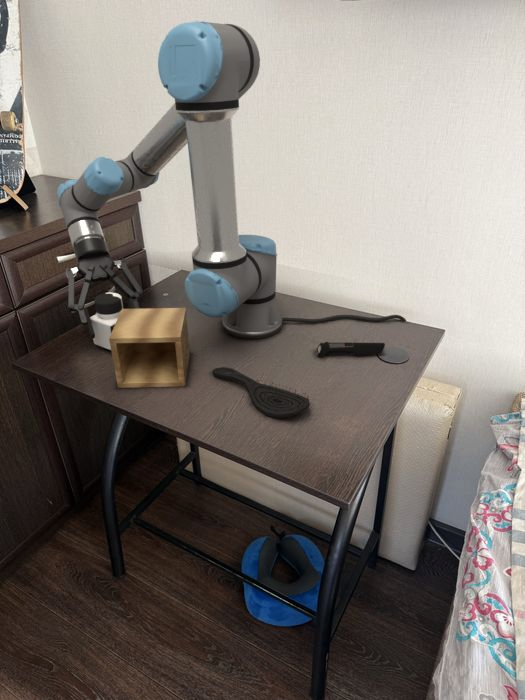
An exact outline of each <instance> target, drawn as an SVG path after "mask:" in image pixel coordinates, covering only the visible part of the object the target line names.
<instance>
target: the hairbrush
mask: <svg viewBox="0 0 525 700" xmlns="http://www.w3.org/2000/svg"><path fill="white" fill-rule="evenodd" d="M212 374H213V375H214V377H217V378H221V379H226V380H230V381H231V380H232V381H235V382H236V383H238V384H241V385H243V386H245V388H246V389H247V392H248V393H249V397H250V401H251V403H252V404H253V405H254V407H255V408H256V409H257V410H258V412H259V413H262V414H264V415H265V416H268V417H272V418H276V419H279V418H291V417H294V416H296V415H300V414H302V413H304V412H305V411H306V410H308V409H309V408H310V405H311V403H310V399H309V397H308V396H304V395H307V394H306V392H305V393H304V392H302V395H301V394H299V393H297V389H295V390H294V388H291V387H288V389H289V390H287V389H283V388H280V387H279V386H281V384H279V383H278V384H277V385H278V386H277V385H275V386H273V382H271V384H266V383H261V382H262V381H263V380H258V379H257V380H255V379H253V378H251V377H249V376H247V375H245V374H244V373H241V372H240V371H239V370H236V369H234V368H232V367H226V366H223V367H215V368H213V369H212ZM259 381H260V382H259ZM283 387H284V388H286V386H285V385H283ZM291 390H294V391H291Z"/></svg>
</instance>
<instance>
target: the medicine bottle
mask: <svg viewBox="0 0 525 700" xmlns="http://www.w3.org/2000/svg"><path fill="white" fill-rule="evenodd" d="M122 297H123V296H122V295H121V294H119V293H117V292H110V291H109V292H103V293H100V294H98V295H96V297H94V299H93V304H94V309H95V314H94V315H92V316H90V319H91V323H92V326H93V329H94V333H95V338H93V339H92V340H93V344H94V345H96V346H98V347H101V348H103V349H106V350H108V351H111V346H110V341H109V338H110V335H111V333H112V331H113V328H114V326H115V324H116V321H117V319H118V317H119V314H120V312H121V310H122V309H124V304H123V298H122Z"/></svg>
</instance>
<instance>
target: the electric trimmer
mask: <svg viewBox="0 0 525 700" xmlns="http://www.w3.org/2000/svg"><path fill="white" fill-rule="evenodd" d="M385 347H386V343H385V342H356V341H355V342H329V341H325V342H320V343H319V344H318V346H317V347H316V355H317V357H320V358H323V357H324V356H337V355H338V356H339V355H353V356H355V357H359V356H368V355H377V354H382V353H383V351H384V349H385Z"/></svg>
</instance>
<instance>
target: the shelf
mask: <svg viewBox="0 0 525 700" xmlns="http://www.w3.org/2000/svg"><path fill="white" fill-rule="evenodd" d="M189 340H190V339H189V328H188V316H187V307H156V308H155V307H154V308H152V307H151V308H149V307H148V308H147V307H146V308H140V309H129V308H123V309H122V310H121V312H120V314H119V317H118V319H117V321H116V324H115V326H114V328H113V331H112V333H111V335H110V338H109V341H110V346H111V350H110V351H111V356H112V362H113V367H114V368H113V369H114V373H115V378H116V384H117V388H118V389H128V388H129V389H133V388H134V389H135V388H136V389H137V388H169V387H170V388H173V387H176V388H177V387H186V383H187V376H188V369H189V364H190V363H189V362H190V357H191V356H190V355H191V352H190V351H191V350H190V341H189Z"/></svg>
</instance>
